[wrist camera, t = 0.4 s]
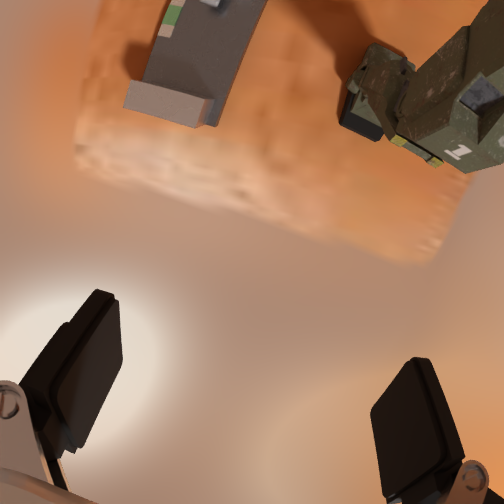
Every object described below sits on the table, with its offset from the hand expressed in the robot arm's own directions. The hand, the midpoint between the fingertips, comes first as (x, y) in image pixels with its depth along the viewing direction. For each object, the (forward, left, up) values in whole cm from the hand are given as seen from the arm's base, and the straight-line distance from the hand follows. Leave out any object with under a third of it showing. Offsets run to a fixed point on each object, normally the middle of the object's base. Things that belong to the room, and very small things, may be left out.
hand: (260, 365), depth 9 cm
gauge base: (-13, -13, -30) cm, 35 cm away
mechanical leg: (-13, +7, -30) cm, 34 cm away
